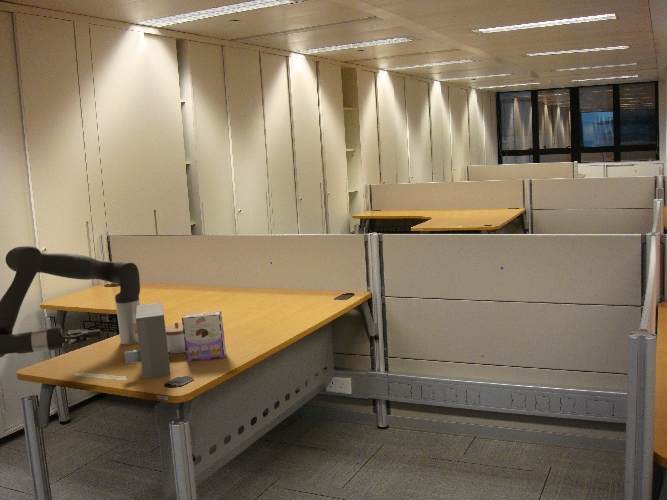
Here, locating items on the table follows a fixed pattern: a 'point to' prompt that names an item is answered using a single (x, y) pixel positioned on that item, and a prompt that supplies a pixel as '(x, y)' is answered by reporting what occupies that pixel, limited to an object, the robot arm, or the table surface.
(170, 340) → the lidded container
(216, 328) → the candy box
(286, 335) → the table surface
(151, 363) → the console panel
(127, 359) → the slate blue button
